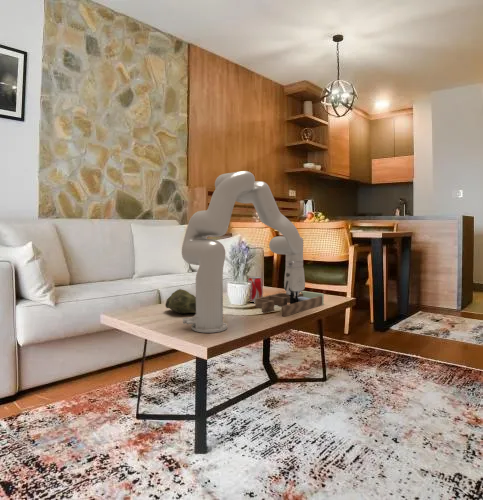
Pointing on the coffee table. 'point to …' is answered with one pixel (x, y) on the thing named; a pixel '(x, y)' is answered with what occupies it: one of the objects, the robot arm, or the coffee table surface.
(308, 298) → the block
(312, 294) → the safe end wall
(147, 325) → the coffee table surface
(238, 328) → the coffee table surface
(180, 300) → the decorative rock
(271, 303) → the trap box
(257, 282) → the soda can
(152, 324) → the coffee table surface
